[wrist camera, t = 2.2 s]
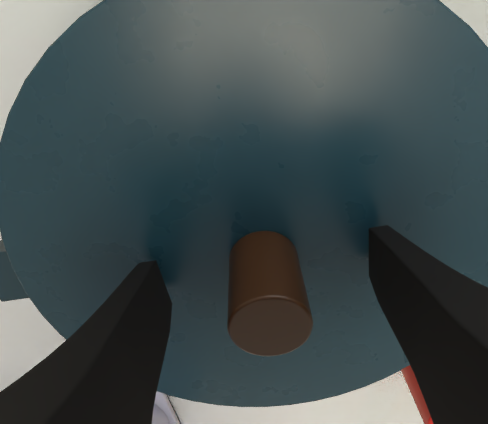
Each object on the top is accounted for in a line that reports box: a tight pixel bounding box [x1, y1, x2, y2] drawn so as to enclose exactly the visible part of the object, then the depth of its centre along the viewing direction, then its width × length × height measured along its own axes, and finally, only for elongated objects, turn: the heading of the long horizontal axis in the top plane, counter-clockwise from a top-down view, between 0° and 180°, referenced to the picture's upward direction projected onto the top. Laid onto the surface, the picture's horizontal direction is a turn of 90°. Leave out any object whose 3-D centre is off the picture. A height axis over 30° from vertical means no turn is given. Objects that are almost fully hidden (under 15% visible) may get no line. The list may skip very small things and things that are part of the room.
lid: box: [0, 0, 488, 407], centre depth 12 cm, size 18×18×4 cm
